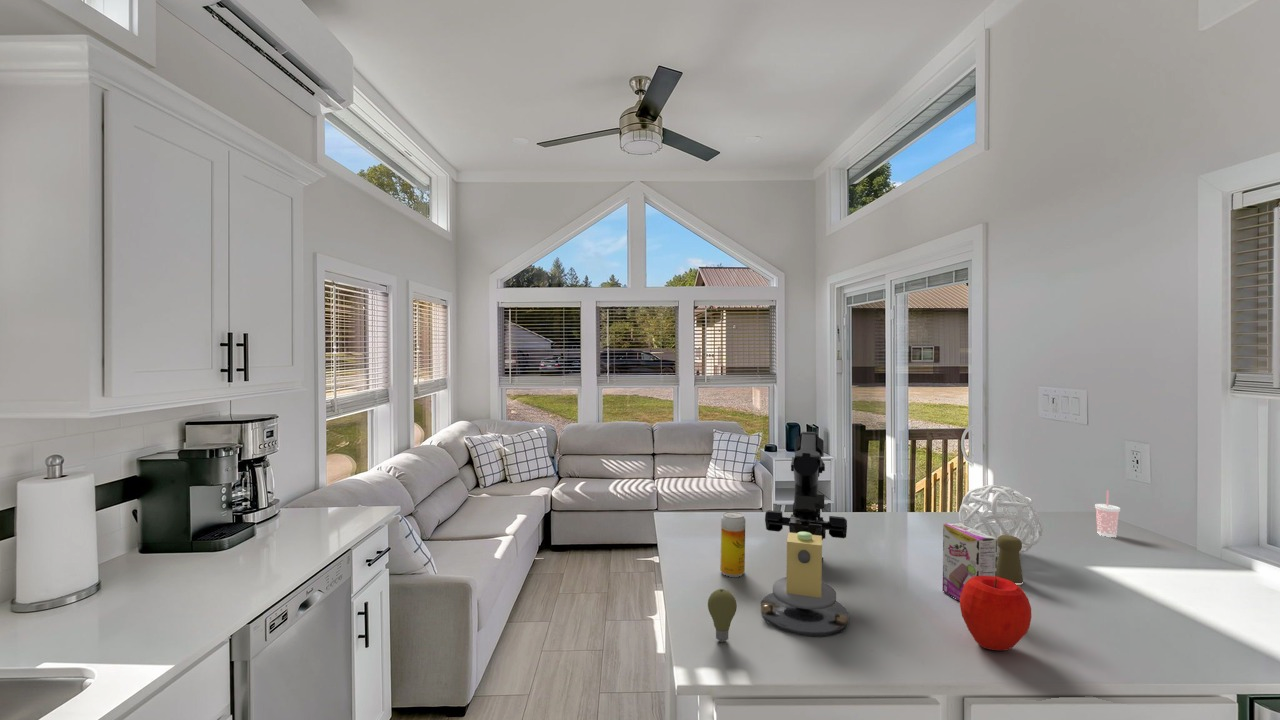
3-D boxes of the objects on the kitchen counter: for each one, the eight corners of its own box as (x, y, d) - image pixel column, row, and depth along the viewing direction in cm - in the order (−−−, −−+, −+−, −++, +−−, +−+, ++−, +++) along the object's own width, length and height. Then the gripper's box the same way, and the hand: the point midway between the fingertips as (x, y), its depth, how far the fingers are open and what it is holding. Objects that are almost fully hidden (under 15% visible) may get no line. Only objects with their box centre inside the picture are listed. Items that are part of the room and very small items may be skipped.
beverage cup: (1089, 531, 177) (1090, 487, 177) (1110, 532, 176) (1111, 488, 176) (1102, 537, 171) (1103, 492, 171) (1124, 538, 170) (1125, 493, 170)
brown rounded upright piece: (1020, 578, 140) (1021, 534, 140) (1025, 587, 135) (1026, 542, 134) (992, 573, 143) (993, 531, 142) (996, 582, 137) (997, 538, 137)
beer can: (744, 579, 138) (745, 518, 138) (719, 576, 139) (720, 517, 139) (744, 569, 144) (745, 512, 144) (720, 567, 145) (721, 510, 145)
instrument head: (775, 578, 128) (775, 521, 127) (835, 586, 124) (836, 527, 123) (770, 604, 115) (771, 541, 115) (837, 613, 111) (837, 548, 111)
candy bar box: (940, 592, 132) (941, 522, 131) (959, 590, 132) (960, 522, 132) (976, 614, 121) (978, 538, 120) (997, 612, 121) (998, 537, 121)
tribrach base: (765, 590, 132) (765, 576, 131) (846, 601, 126) (846, 586, 126) (756, 628, 114) (756, 611, 114) (850, 643, 108) (851, 625, 108)
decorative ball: (1053, 573, 143) (1055, 499, 143) (965, 563, 149) (966, 492, 149) (1027, 547, 162) (1028, 482, 162) (950, 539, 168) (951, 476, 168)
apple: (1003, 670, 99) (1004, 596, 99) (944, 639, 110) (945, 571, 110) (1044, 656, 104) (1046, 585, 104) (984, 627, 115) (985, 563, 115)
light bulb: (704, 634, 111) (705, 584, 111) (732, 633, 112) (732, 583, 112) (710, 649, 106) (711, 597, 105) (739, 648, 106) (740, 596, 106)
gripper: (766, 477, 137) (761, 537, 127) (847, 483, 131) (848, 546, 121) (768, 500, 144) (764, 558, 134) (845, 507, 139) (846, 568, 129)
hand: (804, 557), depth 129 cm, fingers closed
